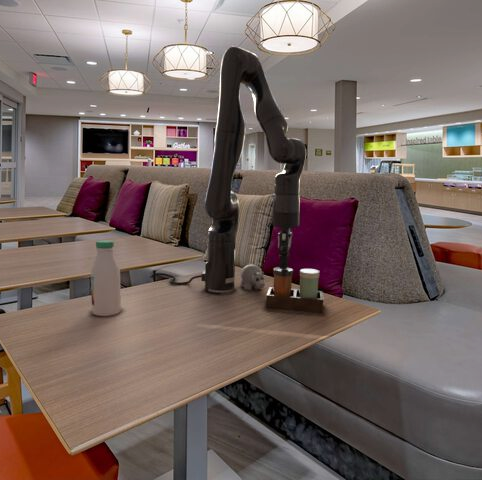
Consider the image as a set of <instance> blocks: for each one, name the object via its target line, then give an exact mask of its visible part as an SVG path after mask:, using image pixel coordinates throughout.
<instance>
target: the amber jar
mask: <svg viewBox="0 0 482 480" xmlns="http://www.w3.org/2000/svg"><path fill="white" fill-rule="evenodd" d="M272 274H273V288H274V289H273V295H279V296H291V289H292V285H293V284H292V283H293V275H294V269H293V268H291V267H288V266H287V269H280V268H279V266H276V267H273V273H272Z"/></svg>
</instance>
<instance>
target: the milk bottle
mask: <svg viewBox="0 0 482 480" xmlns="http://www.w3.org/2000/svg"><path fill="white" fill-rule="evenodd" d="M114 243H115V242H114V241H113V240H110V239H103V240H102V239H101V240H96V242H95V250H96V256H95V259H94V261H93V263H92V266H91V269H90V292H91V293H90V294H91V311H92V312H91V313H92V314H93V315H95V316H97V317H109V316H114V315H116V314H119V313H120V312H121V310H122V295H121V291H122V289H121V270H120V265H119V264H118V261H117V260H116V257H115V254H114V249H115V248H114V246H115V244H114Z"/></svg>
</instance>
